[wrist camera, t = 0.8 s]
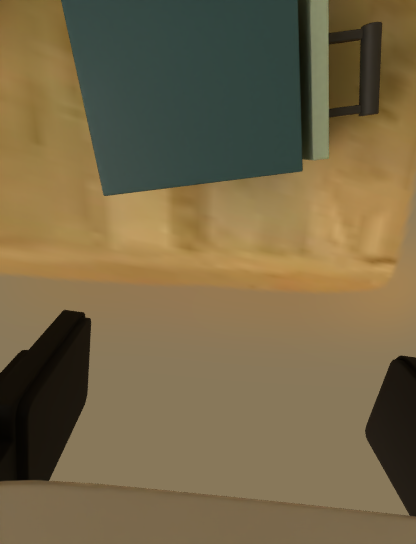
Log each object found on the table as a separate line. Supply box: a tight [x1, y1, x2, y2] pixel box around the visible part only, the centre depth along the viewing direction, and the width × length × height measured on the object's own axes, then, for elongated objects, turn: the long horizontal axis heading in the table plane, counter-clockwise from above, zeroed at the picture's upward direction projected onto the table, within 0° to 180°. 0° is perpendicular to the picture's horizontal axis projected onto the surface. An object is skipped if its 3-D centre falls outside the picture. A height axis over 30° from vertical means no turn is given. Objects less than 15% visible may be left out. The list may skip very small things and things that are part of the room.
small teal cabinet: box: [61, 0, 303, 196], centre depth 27 cm, size 15×13×9 cm
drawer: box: [298, 0, 382, 160], centre depth 27 cm, size 18×11×7 cm, turn 97°
